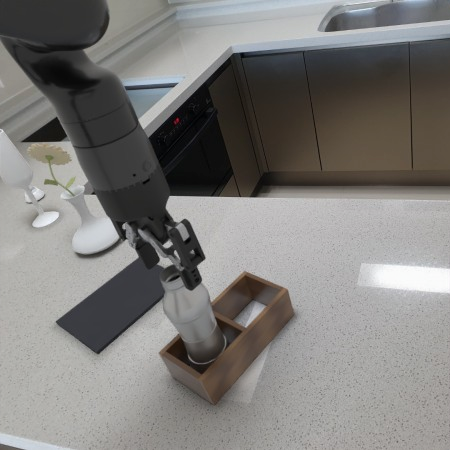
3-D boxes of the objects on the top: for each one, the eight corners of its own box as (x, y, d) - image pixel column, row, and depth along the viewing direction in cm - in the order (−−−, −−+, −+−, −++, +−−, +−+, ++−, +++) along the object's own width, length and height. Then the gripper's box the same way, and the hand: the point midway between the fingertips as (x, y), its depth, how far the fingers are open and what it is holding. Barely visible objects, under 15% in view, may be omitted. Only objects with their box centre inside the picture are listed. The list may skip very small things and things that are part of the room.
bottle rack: (214, 405, 66) (201, 381, 62) (171, 376, 71) (158, 352, 68) (294, 314, 77) (287, 289, 74) (252, 294, 83) (244, 270, 79)
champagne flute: (58, 221, 115) (5, 134, 101) (31, 230, 114) (-27, 144, 99) (59, 208, 120) (9, 124, 106) (33, 217, 119) (-22, 133, 105)
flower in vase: (136, 230, 106) (87, 132, 91) (99, 263, 98) (39, 161, 83) (97, 222, 112) (45, 128, 97) (60, 252, 104) (-2, 155, 89)
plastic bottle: (187, 380, 70) (137, 288, 58) (207, 344, 75) (165, 253, 63) (224, 388, 68) (180, 294, 56) (242, 350, 73) (206, 257, 61)
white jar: (45, 191, 130) (26, 197, 128) (39, 182, 128) (21, 188, 127) (45, 199, 126) (26, 205, 125) (39, 190, 124) (20, 196, 123)
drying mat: (97, 354, 78) (96, 352, 77) (56, 323, 85) (55, 321, 85) (184, 279, 89) (183, 276, 89) (141, 258, 97) (140, 255, 97)
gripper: (60, 173, 52) (118, 276, 62) (134, 202, 44) (188, 314, 54) (114, 142, 56) (161, 243, 66) (191, 163, 48) (231, 274, 58)
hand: (173, 275), depth 60 cm, fingers open, 8 cm apart
